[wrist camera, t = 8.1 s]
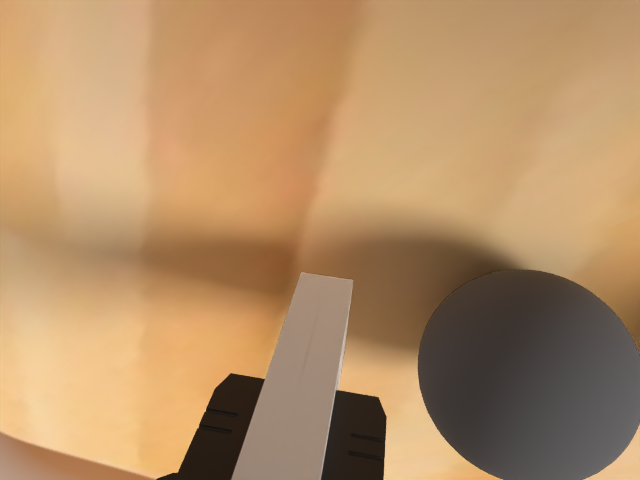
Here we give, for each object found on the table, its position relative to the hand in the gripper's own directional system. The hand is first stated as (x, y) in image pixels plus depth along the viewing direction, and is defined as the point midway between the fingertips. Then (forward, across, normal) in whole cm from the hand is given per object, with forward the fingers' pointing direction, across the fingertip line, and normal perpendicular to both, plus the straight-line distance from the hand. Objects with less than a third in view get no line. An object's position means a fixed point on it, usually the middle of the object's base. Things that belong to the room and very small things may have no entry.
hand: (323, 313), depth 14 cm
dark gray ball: (-1, +6, 0) cm, 6 cm away
